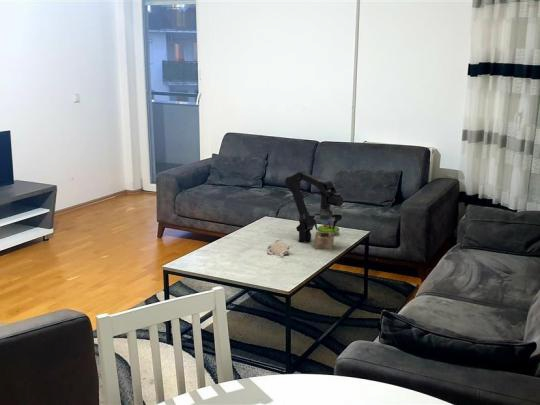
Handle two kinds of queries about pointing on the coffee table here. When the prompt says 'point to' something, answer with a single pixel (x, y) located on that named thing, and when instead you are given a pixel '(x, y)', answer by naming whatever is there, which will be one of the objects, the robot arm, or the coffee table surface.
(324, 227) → the potted plant
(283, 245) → the turtle
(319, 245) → the coin box
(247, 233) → the coffee table surface
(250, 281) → the coffee table surface
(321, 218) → the robot arm
